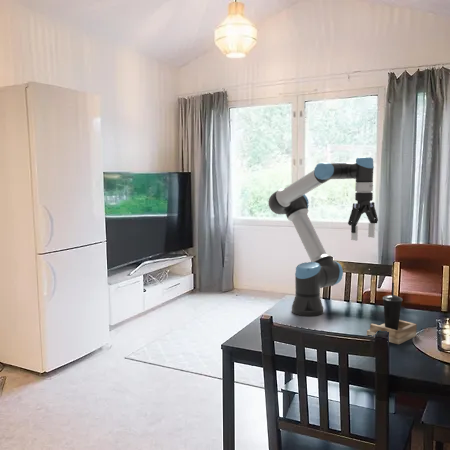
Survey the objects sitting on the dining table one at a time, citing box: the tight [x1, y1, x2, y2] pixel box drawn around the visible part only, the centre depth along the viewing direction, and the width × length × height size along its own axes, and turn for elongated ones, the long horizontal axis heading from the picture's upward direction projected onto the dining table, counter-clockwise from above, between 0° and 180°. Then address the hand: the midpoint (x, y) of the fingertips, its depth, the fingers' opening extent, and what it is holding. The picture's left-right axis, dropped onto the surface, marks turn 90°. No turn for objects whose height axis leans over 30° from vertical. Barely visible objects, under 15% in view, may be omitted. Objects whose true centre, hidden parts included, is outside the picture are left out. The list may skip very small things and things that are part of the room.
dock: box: [366, 319, 418, 345], centre depth 185 cm, size 14×14×5 cm
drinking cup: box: [382, 282, 403, 330], centre depth 185 cm, size 8×8×20 cm
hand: (363, 238), depth 206 cm, fingers open, 13 cm apart
